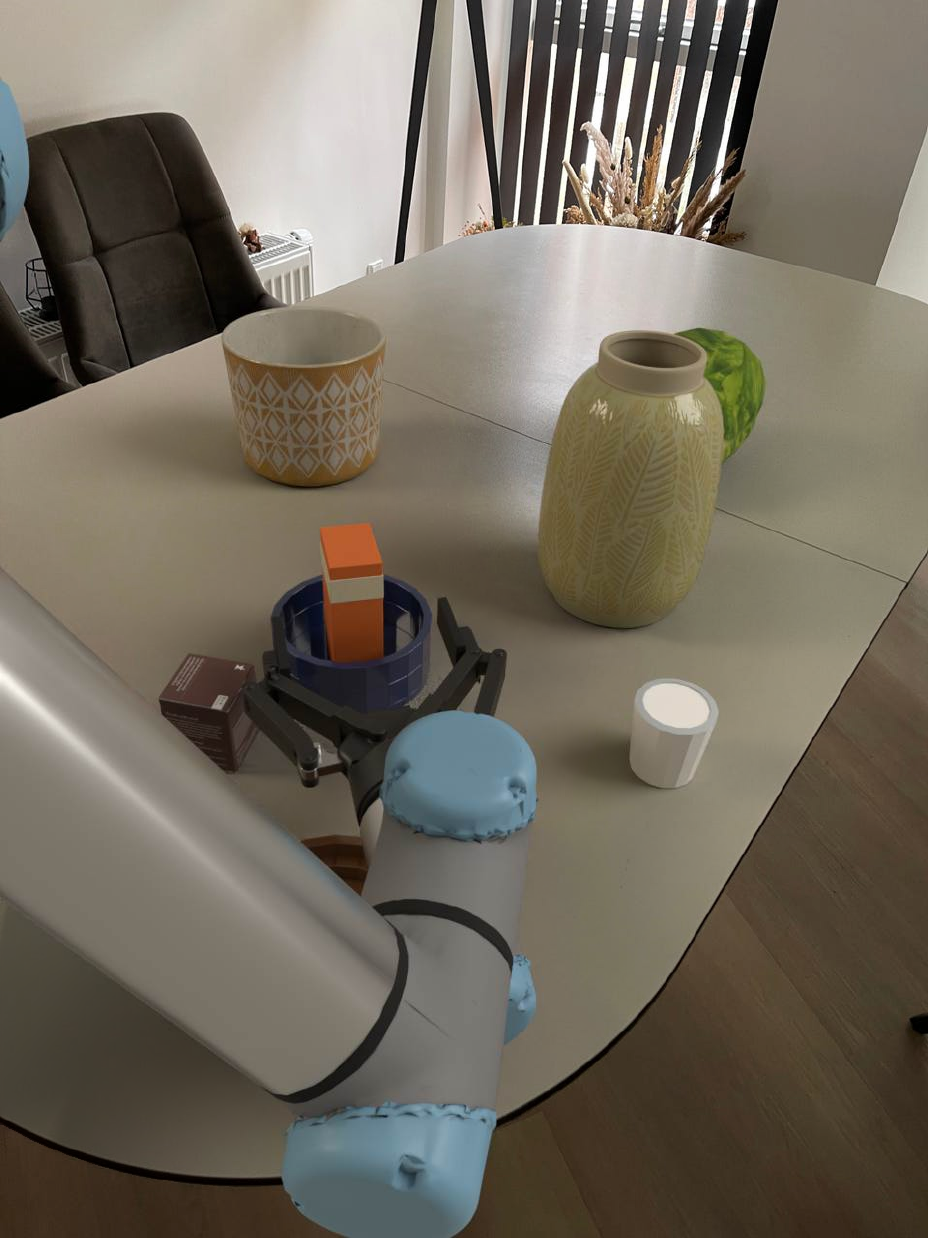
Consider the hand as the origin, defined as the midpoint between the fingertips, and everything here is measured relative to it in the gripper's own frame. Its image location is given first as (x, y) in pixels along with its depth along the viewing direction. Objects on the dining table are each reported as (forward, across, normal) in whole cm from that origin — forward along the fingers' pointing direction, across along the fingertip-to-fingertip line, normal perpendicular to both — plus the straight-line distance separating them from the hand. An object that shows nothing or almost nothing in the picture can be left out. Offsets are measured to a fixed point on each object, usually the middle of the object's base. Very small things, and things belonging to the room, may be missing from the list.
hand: (361, 619), depth 78 cm
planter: (+49, +2, -11) cm, 50 cm away
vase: (+14, +29, -11) cm, 34 cm away
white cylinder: (-11, +24, -11) cm, 29 cm away
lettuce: (+38, +48, -11) cm, 62 cm away
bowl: (-23, -6, -11) cm, 26 cm away
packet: (+7, 0, -10) cm, 12 cm away
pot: (+7, 0, -11) cm, 13 cm away
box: (-1, -13, -11) cm, 17 cm away
